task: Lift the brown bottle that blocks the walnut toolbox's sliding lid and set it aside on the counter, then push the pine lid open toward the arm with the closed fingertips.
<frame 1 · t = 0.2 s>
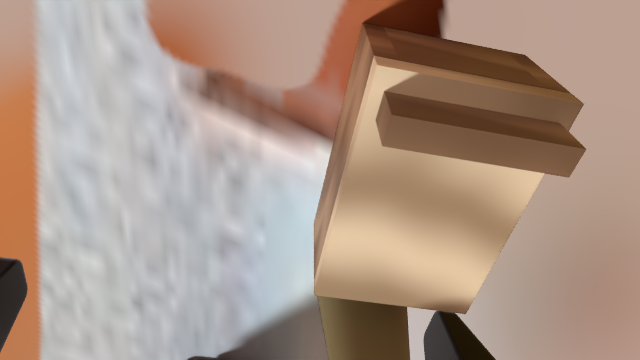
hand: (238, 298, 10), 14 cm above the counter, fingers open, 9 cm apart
brown bottle: (360, 281, 30), on the counter
toolbox: (407, 149, 24), on the counter
lid: (432, 220, 19), point 6 cm above the counter, slide at 0.0 cm
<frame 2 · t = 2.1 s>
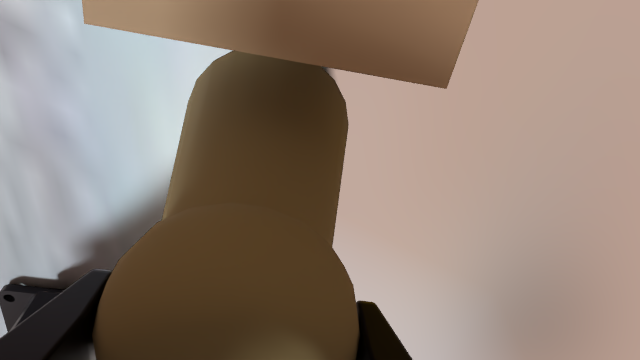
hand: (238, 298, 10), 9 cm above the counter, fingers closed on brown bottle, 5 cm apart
brown bottle: (268, 122, 17), on the counter, touching gripper
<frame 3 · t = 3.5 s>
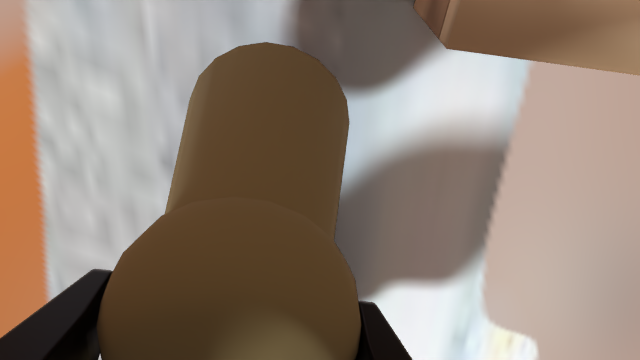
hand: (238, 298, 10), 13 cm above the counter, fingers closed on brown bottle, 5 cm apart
brown bottle: (270, 119, 17), point 4 cm above the counter, touching gripper
when the fingers open (9 cm above the counter, at t = 5.2 s): brown bottle stays where it is, on the counter.
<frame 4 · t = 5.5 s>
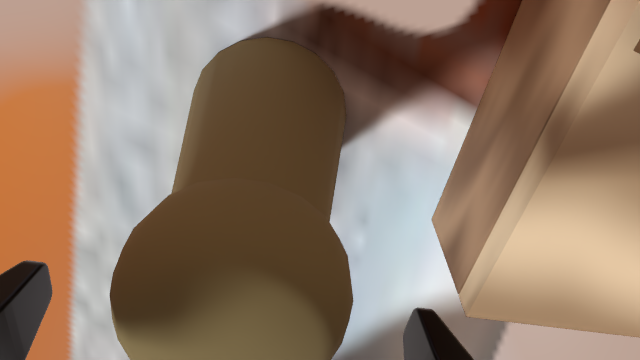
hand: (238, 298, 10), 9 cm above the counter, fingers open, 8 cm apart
brown bottle: (270, 112, 18), on the counter
toolbox: (574, 117, 18), on the counter
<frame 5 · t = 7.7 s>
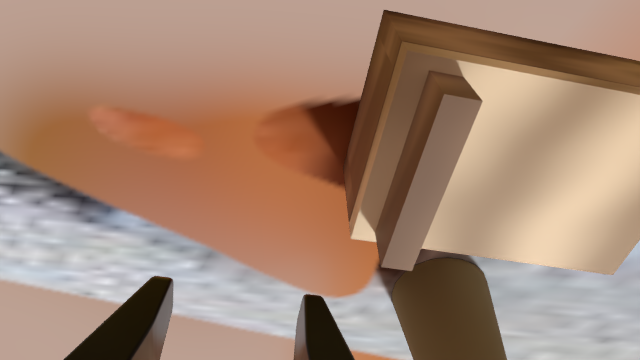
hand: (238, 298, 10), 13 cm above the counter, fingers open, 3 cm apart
brown bottle: (438, 290, 29), on the counter
toolbox: (481, 117, 22), on the counter
lid: (532, 188, 17), point 6 cm above the counter, slide at 0.0 cm
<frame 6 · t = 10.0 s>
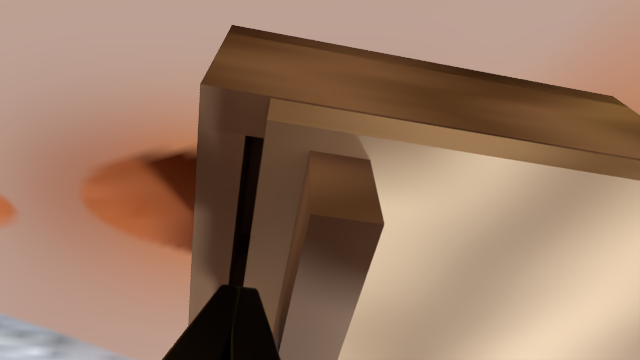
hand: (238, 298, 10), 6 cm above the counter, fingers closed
toolbox: (395, 173, 16), on the counter
lid: (493, 319, 11), point 6 cm above the counter, slide at 1.4 cm, touching gripper
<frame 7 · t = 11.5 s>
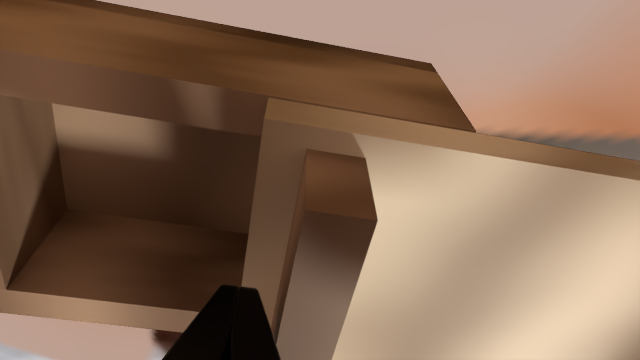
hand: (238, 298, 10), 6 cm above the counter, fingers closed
toolbox: (223, 145, 15), on the counter
lid: (488, 316, 11), point 6 cm above the counter, slide at 7.4 cm, touching gripper
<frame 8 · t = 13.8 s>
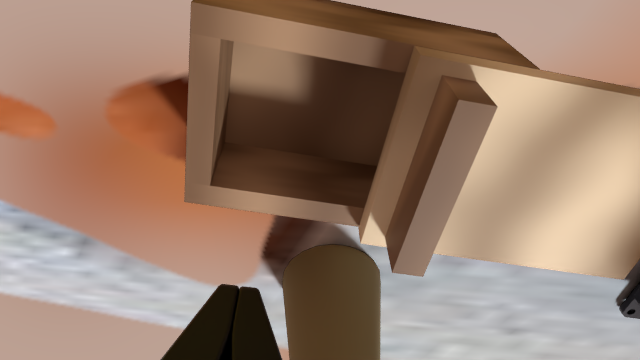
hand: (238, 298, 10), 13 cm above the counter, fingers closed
brown bottle: (331, 279, 28), on the counter
toolbox: (340, 95, 21), on the counter
lid: (544, 193, 17), point 6 cm above the counter, slide at 7.4 cm
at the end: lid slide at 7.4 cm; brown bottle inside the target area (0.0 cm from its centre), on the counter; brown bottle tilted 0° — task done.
